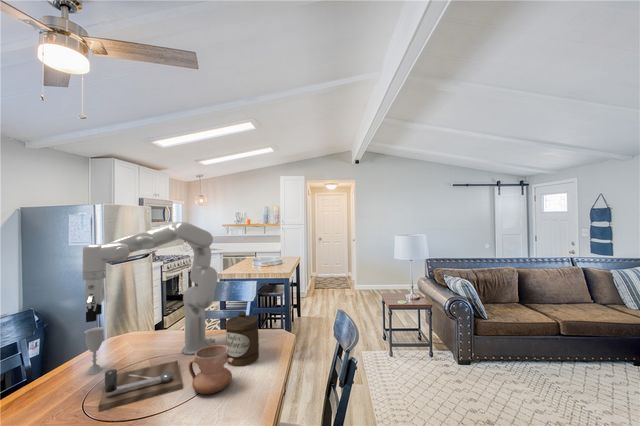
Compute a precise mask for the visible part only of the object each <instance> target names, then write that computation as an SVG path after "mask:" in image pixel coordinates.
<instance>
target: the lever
mask: <svg viewBox="0 0 640 426" xmlns="http://www.w3.org/2000/svg"><path fill="white" fill-rule="evenodd" d="M117 374H118V370H117V369H115V368H112V369H109V370H107V371H106V372H104V386H105V392H106V393H107V396H111V395H115V394H119V393H123V392H127V391H131V390H135V389H138V388H142V387H146V386H150V385H154V384H158V383H166V382H169V381H171V380H172V379H173V372H165V373H163V374H161V376H159V377H155V378H151V379H147V380H143V381H138V382H134V383H130V384H126V385H122V386H118V387H117Z"/></svg>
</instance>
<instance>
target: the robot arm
mask: <svg viewBox="0 0 640 426" xmlns="http://www.w3.org/2000/svg"><path fill="white" fill-rule="evenodd" d="M177 240H182V241H184V242H186V243H187V244H188V246H190V247H191V249H192V251H193V260H192V266H191V270H190V275H189V278H190V281H191V282H192V283H194V284H195V285H194V286H190V287H188V288H187V289H186V290H185V291H184V293H183V296H182V301H183V308H184V339H185V340H184V346H182V349H181V353H183V354H184V355H189V356H190V355H195V353H196V351H197V350H199V349H201V348H203V347H207V346H210V344H213V343H216V338H212V337H210V338H207V337H206V309H207V308H209V307H210V306H211V305H212V304H213V302H214V299H215V296H216V295H215V294H216V290H217V285H218V278H219V277H218V276H219V275H218V272H217V270H216V269H215V268H214V267H212V266H211V262H212V249H211V247H210V246H211V245H212V244H213V241H214V238H213V235H212V234H211V232H209V231H208V230H205V229H203V228H201V227H198V226H195V225H193V224H191V223H189V222H186V221H174V222H170V223H167V224H164V225H161V226H158V227H156V228H155V227H154V228H152V229H149V230H145V231H142V232H139V233H136V234H133V235H130V236H126V237H122V238H120V239H117V240H113V241H111V242H108V243H106V244H101V243H97V244H95V243H93V244H86V245H84V246H83V248H82V281H85V283H84V284H85V285H84V286H85V287H84V291H85V292H84V305H85V306H86V308H85V309H86V312H85V323H93V322H96V321H97V318H98V317H97V316H98V315H102V312H103V308H102V305H103V304H102V303H103V302H104V301H105V280H104V279H106V278H107V262H121V261H124V260H126V259H127V258H128V257H129V255H130V254H131V253H134V252H138V251H142V250H144V251H145V250H151V249H155V248H159V247H161V246H164V245H166V244H168V243H172V242H174V241H177ZM196 285H197V286H196Z"/></svg>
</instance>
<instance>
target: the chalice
mask: <svg viewBox="0 0 640 426" xmlns="http://www.w3.org/2000/svg"><path fill="white" fill-rule="evenodd" d="M104 330H105V327H103V326H99V327H98V326H97V327H93V328H90V329H86V330H85V331H84V332H83V333H84V334H85V345H86V348H88V350H89V352H91V353H92V360H91V362H92V364H91V365H92V366H89V368H88V372H87V373H86V374H87V375H90V376H91V375H96V374H98V373H100V372H101V371H102V367H101V366H100V365H99V364H97V361H98V359H97V356H98V355H97V351H99V349H100V348H101V345H102V343H103V340H104Z"/></svg>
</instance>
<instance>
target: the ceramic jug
mask: <svg viewBox="0 0 640 426" xmlns="http://www.w3.org/2000/svg"><path fill="white" fill-rule="evenodd" d="M194 355H195V357H192V358H191V359H190V360H189V361H188V372H189V374H190V376H191V378H192V385H191V387H192V389H193V390H194V391H195V392H196V393H198V394H202V395H209V394H215V393H218V392H220V391H222V390H224V389H225V388H227V387H228V385H229V384H230V383H231V382H232V380H233V374H232V371H231V370H230V369H229V368H228V367H225V364H228V363H227V362H230V363H232V361H233V359H232V358H227V355H228V347H227V346H226V345H223V344H215V345H209V346H207V347H203V348H201V349H199V350H197V351H196V353H195V354H194ZM193 363H194V364H197V367H198V369H199V372H198V373H197V374H196V373H195V371H194V367H193Z"/></svg>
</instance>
